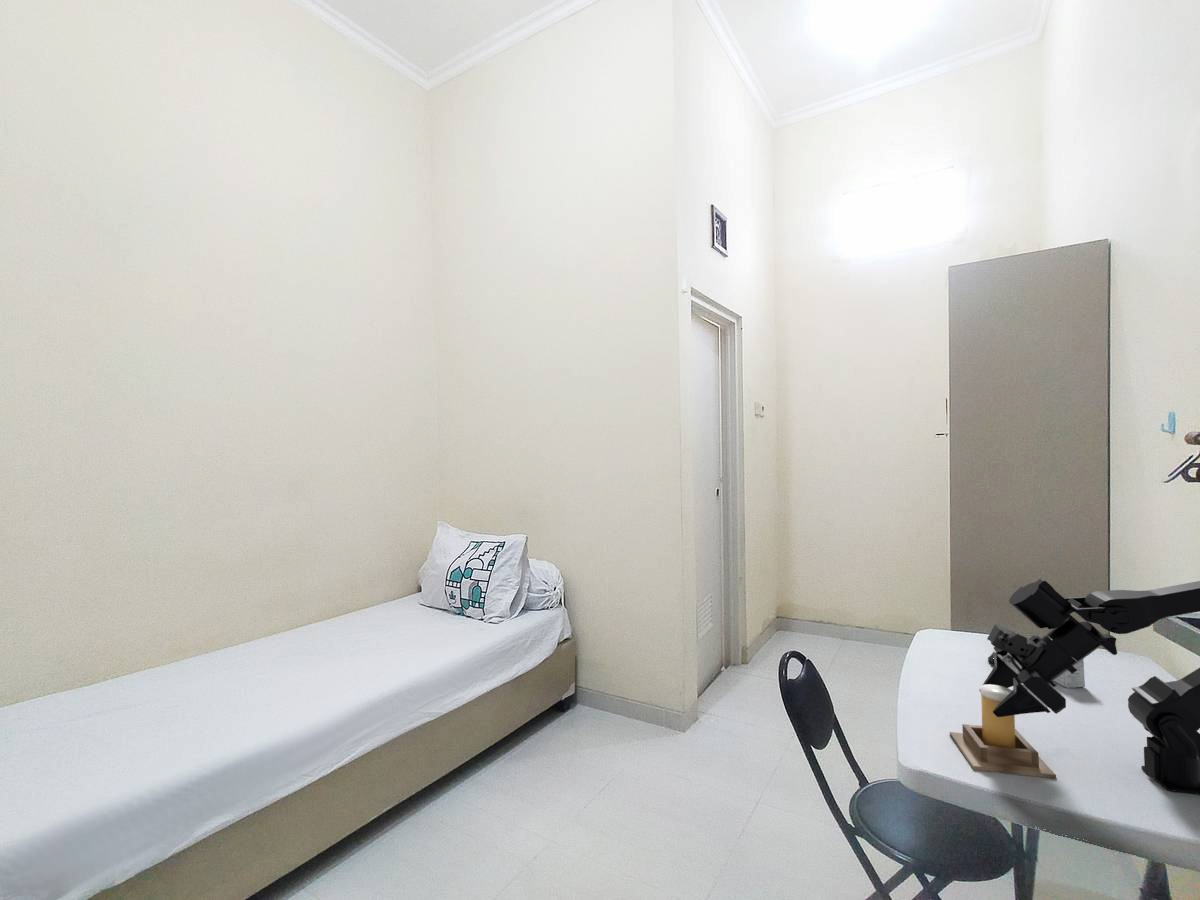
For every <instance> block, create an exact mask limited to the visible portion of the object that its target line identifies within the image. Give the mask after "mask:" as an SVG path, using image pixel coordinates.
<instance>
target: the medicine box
mask: <svg viewBox="0 0 1200 900" xmlns="http://www.w3.org/2000/svg"><path fill="white" fill-rule="evenodd" d="M1050 639H1051V638H1050ZM1051 640H1052V639H1051ZM1072 658H1073V657H1072ZM1073 659H1074V658H1073ZM1074 660H1075V659H1074ZM1077 662H1078V661H1077ZM1073 667H1074V668H1075V669H1077V671H1076V672H1074V673H1073V674H1072V673H1071V672H1070V671H1068V670H1067V671H1066V672H1065V673H1063V674H1062V675H1060V676H1059V677H1058V678H1056V679H1055V680H1054V681H1053V682H1054V683H1055V684H1058V685H1061V686H1063V687H1065V688H1067V689H1075V688H1076V687H1084V688H1085V687H1086V683H1085V682H1086V681H1085V663H1084V659H1082V660H1081V661H1080V662H1078V663H1077V664H1075V665H1074V666H1073ZM1076 689H1077V688H1076Z"/></svg>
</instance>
